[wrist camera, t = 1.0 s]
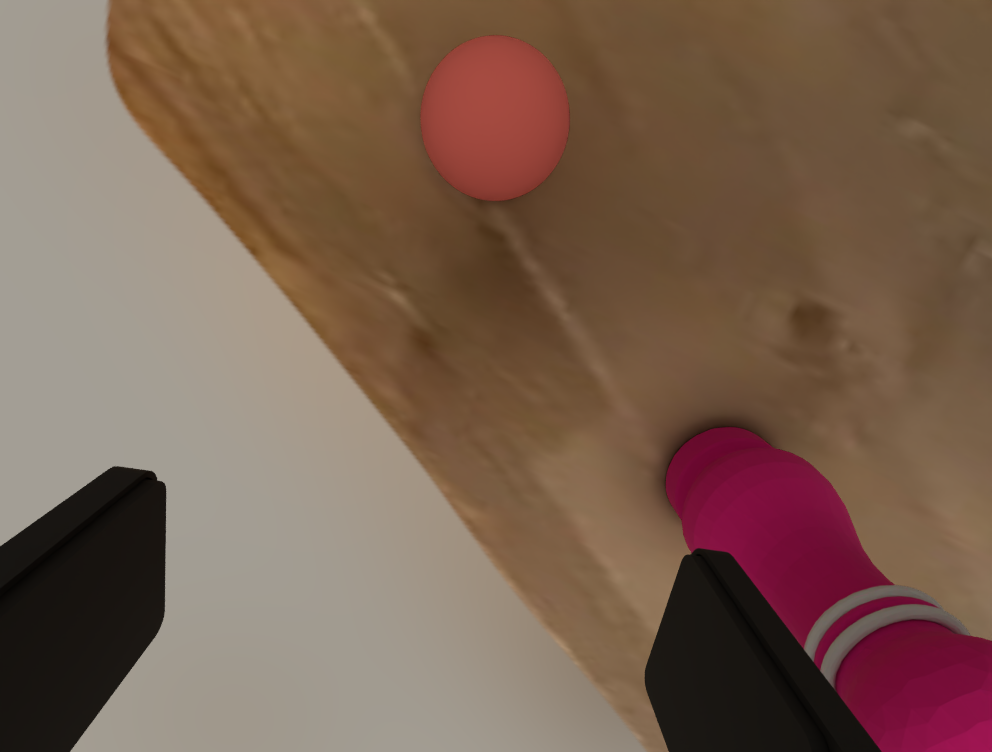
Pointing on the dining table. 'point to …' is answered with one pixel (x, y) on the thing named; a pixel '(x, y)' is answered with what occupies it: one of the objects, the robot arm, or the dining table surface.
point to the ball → (495, 118)
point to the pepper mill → (836, 593)
